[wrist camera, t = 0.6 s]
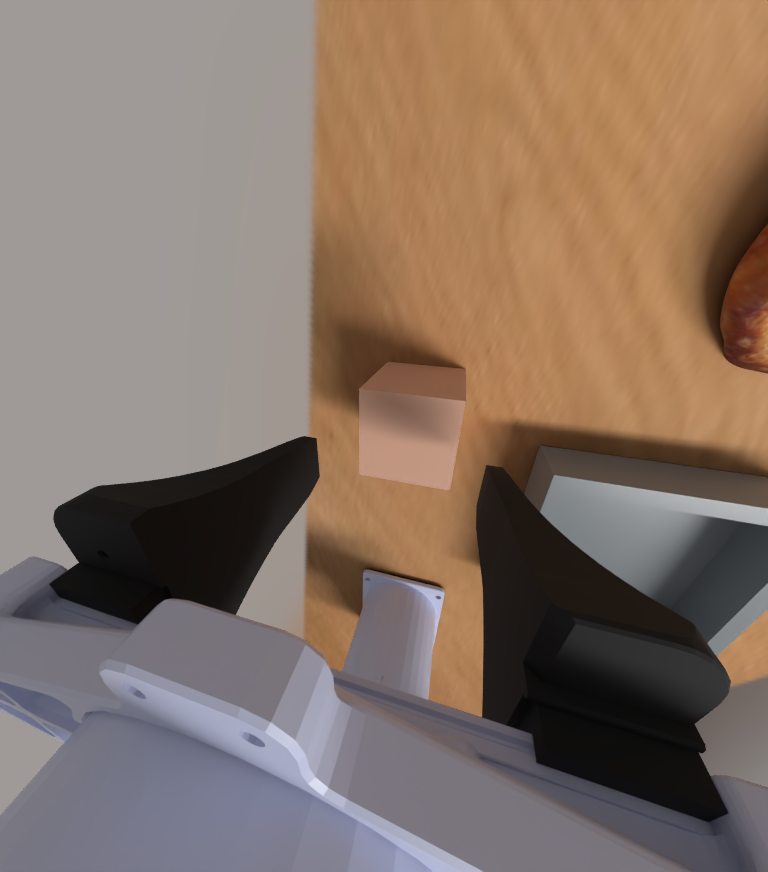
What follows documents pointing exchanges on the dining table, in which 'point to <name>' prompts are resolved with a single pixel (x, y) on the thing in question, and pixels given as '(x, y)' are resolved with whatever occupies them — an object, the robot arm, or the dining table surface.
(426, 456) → the block
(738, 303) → the bread slice
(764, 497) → the bin
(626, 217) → the dining table surface
